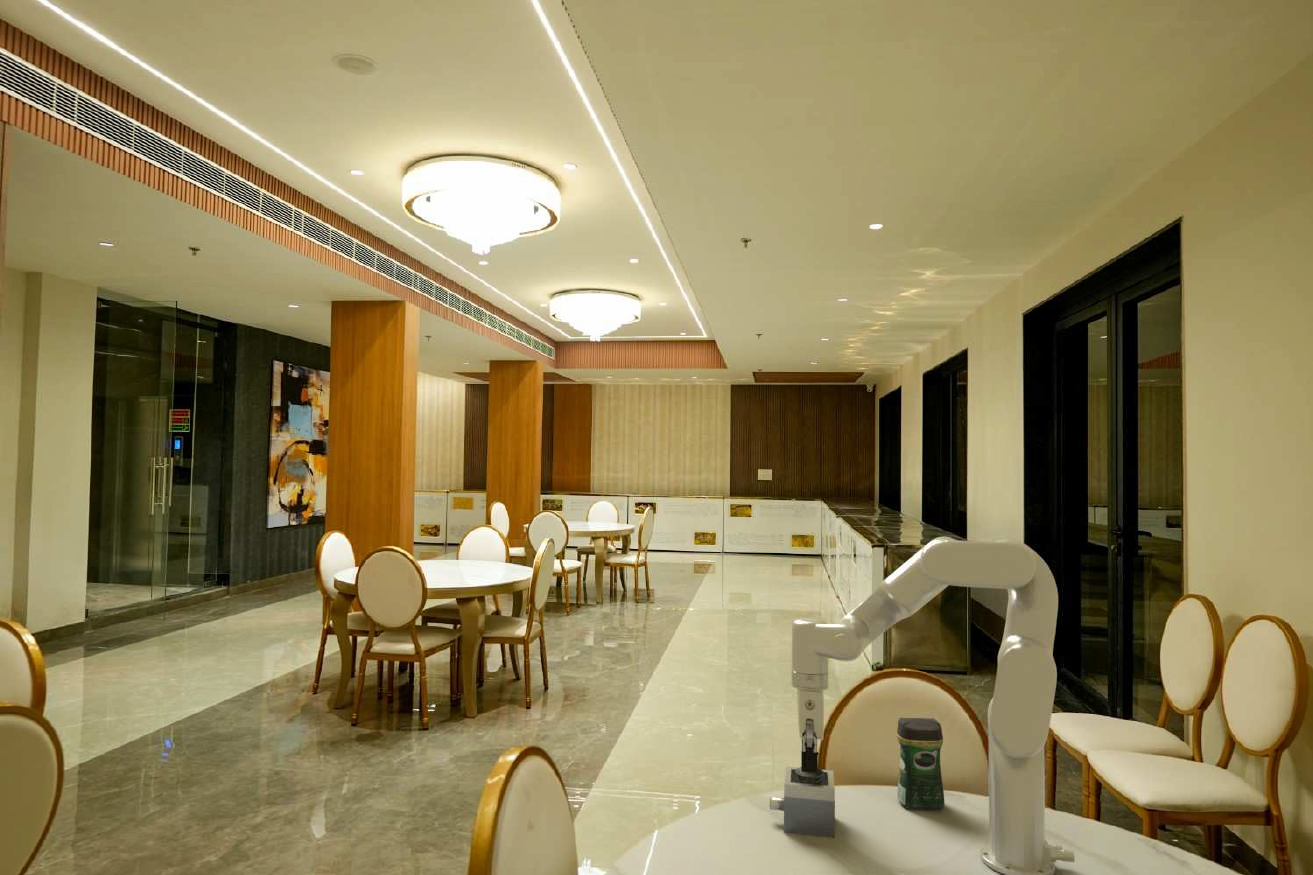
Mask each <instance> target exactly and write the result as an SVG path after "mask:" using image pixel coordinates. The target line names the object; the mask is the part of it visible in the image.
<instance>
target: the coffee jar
mask: <svg viewBox="0 0 1313 875" xmlns="http://www.w3.org/2000/svg"><path fill="white" fill-rule="evenodd" d="M896 737H897V740H898V741H897V742H898V743H899V750H900V751H899V752H900V753H899V754H900V755H899V771H898V772H899V774H898V782H897V800H898V802H899V803H900V805H902V806H903V807H906V808H907V809H909V810H915V811H916V810H917V811H940V810H942V809H943V808H944V807H945V794H944V793H945V792H944V784H943V777H942V768H941V748H942V747H943V743H944V736H943V729H942V725H941V723H940V722H939V721H938V720H937V719H936V718H933V717H932V718H931V717H929V718H927V717H925V718H924V717H899V719H898V722H897V730H896Z"/></svg>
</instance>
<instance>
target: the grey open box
mask: <svg viewBox="0 0 1313 875" xmlns="http://www.w3.org/2000/svg"><path fill="white" fill-rule="evenodd" d="M797 768H798V767H795V766H794V767H793V766H785V772H784V773H785V774H784V783H783V784H784V785H783V787H784V790H783V792H784V793H783V794H784V795H783V797H773V796H769V797H770V798H769V810H771V811H780V812H781V811H783V833H784V834H785V833H786V834H794V835H795V834H796V835H805V836H813V837H814V836H815V837H825V838H833V839H834V838H835V837H836V819H835V818H836V800H835V797H836V795H835V794H836V793H835V792H836V790H835V789H836V788H835V777H834V770H827V769H822V770H823V771H824V773H825V774H824V776H823V779H822V782H821V783H820V784H819V785H814V784H803V783H801V782H800V781H799V780H798V777H797V773H796V769H797Z"/></svg>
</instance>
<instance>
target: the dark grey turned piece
mask: <svg viewBox="0 0 1313 875" xmlns="http://www.w3.org/2000/svg"><path fill="white" fill-rule="evenodd" d="M806 736H807V735H806ZM813 736H814V735H813ZM805 742H806V741H805ZM813 742H814V741H813ZM805 749H806V747H805ZM805 751H806V750H805ZM819 754H820V753H819V752H818V756H819ZM796 768H797V769H796V773H797V777H798V780H799V781H800V782H801V783H803V784H814V785H819V784H820V783H821V782H822V779H823V776H824V774H825V773H824V771H823V770H824V769H821V768H820V767H818V772H817V773H810V772H802V770H801V767H796Z"/></svg>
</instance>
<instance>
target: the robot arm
mask: <svg viewBox="0 0 1313 875" xmlns="http://www.w3.org/2000/svg"><path fill="white" fill-rule="evenodd" d="M948 586H953V587H956V586H957V587H966V588H983V589H984V588H986V589H1002V590H1006V591H1007V594H1008V602H1007V609H1006V615H1005V616H1006V619H1005V624H1004V631H1003V636H1002V641H1001V644H1000V647H999V651H998V654H997V670H996V678H995V684H994V690H993V697H992V698H991V700H990V701H989V704H988V707H987V728H988V730H987V731H988V736H987V738H988V739H987V740H988V837H989V838H988V843H986V844H984V845H983V846H982V847H980V853H979V854H980V855H979V856H980V859H981V861H982V862H983V863H984V864H985V865H986V866H987V867H989V868H990V869H992V870H993V871H996V872H998V873H1000V874H1003V875H1054V874H1055V873H1056V865H1055V863H1056V862H1057V861H1062V862H1067V863H1074V862H1075V860H1076V859H1075V858H1076V857H1075V853H1074V850H1071V849H1070V850H1069V849H1068V850H1067V849H1063V847H1062V844H1049V843H1048V842H1047V840H1046V814H1045V813H1046V803H1045V802H1046V801H1045V800H1046V799H1045V798H1046V797H1045V796H1046V795H1045V788H1046V787H1045V786H1046V785H1045V784H1046V781H1045V780H1046V778H1045V776H1046V774H1045V773H1046V772H1045V769H1046V768H1045V744H1046V742H1047V739H1048V736H1049V735H1048V734H1049V730H1050V724H1051V719H1052V713H1053V707H1054V700H1055V697H1056V696H1055V695H1056V688H1057V678H1058V672H1057V670H1058V669H1057V665H1056V662H1055V659H1054V656H1053V652H1054V643H1055V642H1054V641H1055V636H1056V631H1057V630H1056V628H1057V619H1058V610H1059V593H1058V587H1057V584H1056V580H1055V578H1054V575H1053V573H1052V571H1051V569H1050V567H1049V565H1048V564H1047V563H1046V562H1045V560H1044V559H1043V558H1042V557H1041V556H1040V555H1039V554H1038V553H1037V552H1036V551H1035V550H1033V549H1032V548H1031V547H1030V546H1028V545H1027V544H1026V543H1023V542H1022V541H1020V540H1018V539H1014V538H1004V539H1003V538H1002V539H998V540H997V541H974V540H970V541H969V540H958V539H955V538H952V537H949V536H939V537H936V538H934V539H932V540H931V541H929V542H928V543H927V544H925V545H924V546H923V547H922V548H920V549H919V550H918V551H917V552H916V553H915V554H914V555H912V556H911V557H910V558H909V559H908V560H906V561H905V562H904V563H903V564H902V565H900V566H899V567H898V568H897V569H896V570H895V571H893V572H892V573H890V574H889V575H888V576H887V577H886V578H885V579H884V580H883V581H882V582H881V583H879V585H878V586H877V588H875V590H874V591H873V592H872V593H871V594H870V595H868V597H867V598H865V599H864V600H863V601H861V602H860V604H858V605H857V606H856V607H855V608H853V609H852V610H851V611H850V612H848V613H847V614H846V615H845V616H844V617H842V618H841V619H840V620H839V621H837V623H833V624H831V623H827V622H826V621H825V620H823V619H822V618H821V619H820V618H815V617H800V618H797V619H795V620H794V621H793V623H792V626H791V687H792V688H794V689H797V691H796V692H797V724H798V735H799V738H800V739H801V758H800V759H801V764H800V766H801V770H802V772H810V773H817V772H818V768H819V765H818V764H819V763H818V762H819V758H818V757H819V755H818V753H819V752H818V740H820V741H823V740H824V738H825V737H824V735H825V734H824V731H825V727H824V726H825V724H824V722H825V721H824V720H825V710H824V709H825V702H824V701H825V700H824V698H825V697H824V691H826V690H828V689H829V659H832V660H836V661H840V662H852V661H855V660H856V659H858V658H859V657H861V655H862V654H863V652H864V650H865V649H866V648H867V647H868V646H869V645H870V644H871V643H873V642H874V641H875V640H876V639H878V638H879V637H880V636H881V635H882V634H883V633H885V632H886V631H887V630H889V629H890V628H891V627H893V626H894V625H895V624H897V623H898V622H900V621H902V620H904V619H907V618H909V617H911V616H913V615H914V614H915V613H917V612H919V611H920V609H922V608H923V607H924V606H926V605H927V604H928V603H929V602H930V601H931V600H933V599H934V598H935V597H936V596H938V595H939V593H941V592H942V591H943V590H946V588H948ZM806 735H807V736H806ZM813 735H814V736H813ZM805 741H806V742H805ZM813 741H814V742H813ZM805 747H806V749H805ZM805 750H806V751H805Z"/></svg>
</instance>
